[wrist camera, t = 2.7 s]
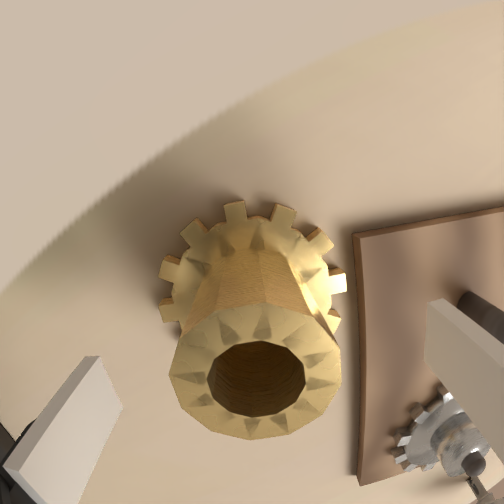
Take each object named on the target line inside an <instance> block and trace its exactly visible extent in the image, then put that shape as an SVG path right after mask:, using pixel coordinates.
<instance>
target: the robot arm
mask: <svg viewBox="0 0 504 504" xmlns="http://www.w3.org/2000/svg"><path fill="white" fill-rule="evenodd" d="M424 362H425V363H426V364H427V365H428V366H429V368H430V369H431V370H432V371H433V373H434V374H435V375H436V376H437V377H438V379H439V380H440V381H441V382H442V384H443V385H444V386H445V387H446V389H447V390H448V391H449V392H450V394H451V395H452V396H453V397H454V399H455V400H456V401H457V403H458V404H459V405H460V406H461V408H462V409H463V410H464V412H465V413H466V414H467V415H468V417H469V418H470V419H471V421H472V422H473V423H474V425H475V426H476V427H477V429H478V430H479V431H480V433H481V434H482V435H483V437H484V438H485V439H486V441H487V442H488V444H489V445H490V446H491V448H492V449H493V450H494V452H495V453H496V455H497V456H498V457H499V459H500V460H501V462H502V463H503V464H504V345H503V344H502V343H501V342H500V341H498V340H497V339H496V338H495V337H493V336H492V335H491V334H490V333H488V332H487V331H486V330H485V329H483V328H482V327H481V326H479V325H478V324H477V323H476V322H474V321H473V320H472V319H470V318H469V317H468V316H466V315H465V314H464V313H462V312H461V311H460V310H458V309H457V308H456V307H454V306H453V305H452V304H450V303H449V302H448V301H446V300H445V299H444V298H442V299H438V300H435V301H431V302H428V303H427V324H426V339H425V350H424ZM122 409H123V406H122V404H121V402H120V400H119V398H118V395H117V393H116V391H115V389H114V387H113V385H112V383H111V381H110V378H109V376H108V374H107V372H106V369H105V367H104V365H103V362H102V360H101V358H100V356H89V357H85V358H84V359H83V360H82V361H81V362H80V364H79V365H78V366H77V367H76V369H75V370H74V371H73V372H72V374H71V375H70V376H69V377H68V379H67V380H66V381H65V382H64V384H63V385H62V386H61V387H60V389H59V390H58V391H57V393H56V394H55V395H54V396H53V398H52V399H51V400H50V402H49V403H48V404H47V406H46V407H45V408H44V409H43V411H42V412H41V413H40V415H39V416H38V417H37V418H36V419H35V420H34V421H33V422H31V423H30V424H29V425H27V427H26V428H25V429H24V431H23V432H22V433H21V436H19V437H18V439H17V440H16V443H15V442H14V441H13V439H12V438H11V437H10V435H9V434H8V433H7V432H6V430H5V429H4V428H3V427H2V426H1V425H0V504H78V503H79V500H80V498H81V496H82V494H83V491H84V489H85V487H86V485H87V482H88V480H89V478H90V476H91V474H92V472H93V469H94V467H95V465H96V463H97V461H98V459H99V456H100V454H101V452H102V450H103V448H104V446H105V444H106V442H107V440H108V438H109V435H110V433H111V431H112V429H113V427H114V425H115V423H116V421H117V419H118V417H119V415H120V413H121V411H122Z"/></svg>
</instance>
